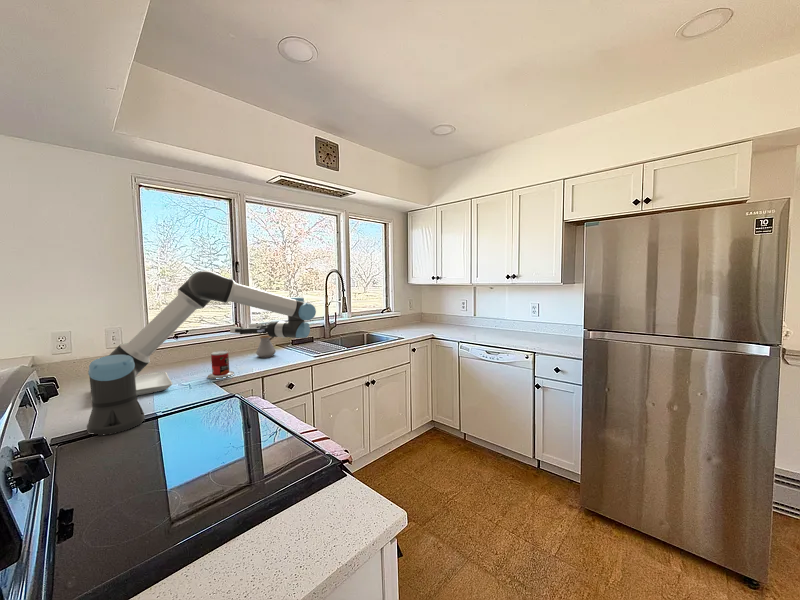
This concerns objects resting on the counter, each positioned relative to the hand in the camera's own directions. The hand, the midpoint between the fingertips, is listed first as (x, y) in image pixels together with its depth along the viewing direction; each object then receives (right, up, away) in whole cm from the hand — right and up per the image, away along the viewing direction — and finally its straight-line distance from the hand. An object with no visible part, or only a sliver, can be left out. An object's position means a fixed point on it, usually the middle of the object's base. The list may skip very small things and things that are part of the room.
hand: (240, 328), depth 169 cm
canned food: (-12, -24, +4) cm, 27 cm away
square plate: (-41, -27, -16) cm, 52 cm away
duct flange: (-12, -25, +4) cm, 28 cm away
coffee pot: (-2, -22, +41) cm, 47 cm away
